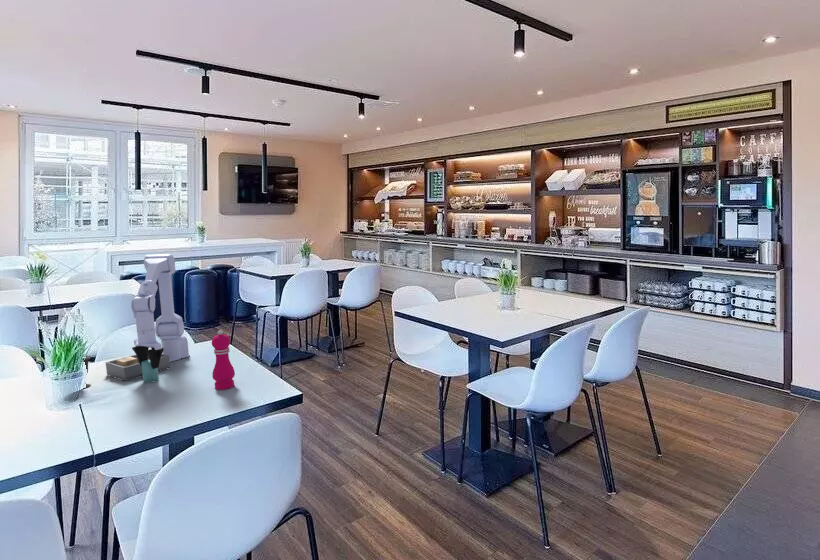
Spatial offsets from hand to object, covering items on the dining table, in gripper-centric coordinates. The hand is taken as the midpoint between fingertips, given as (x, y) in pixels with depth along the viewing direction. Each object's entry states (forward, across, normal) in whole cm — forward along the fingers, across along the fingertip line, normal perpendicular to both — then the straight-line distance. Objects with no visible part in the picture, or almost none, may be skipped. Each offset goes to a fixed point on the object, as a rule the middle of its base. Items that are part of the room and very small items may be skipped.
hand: (149, 366), depth 184 cm
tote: (+5, -14, +3) cm, 15 cm away
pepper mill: (+5, +29, +10) cm, 31 cm away
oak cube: (+4, -14, -1) cm, 14 cm away
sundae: (+5, -15, -16) cm, 23 cm away
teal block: (+5, 0, 0) cm, 5 cm away
